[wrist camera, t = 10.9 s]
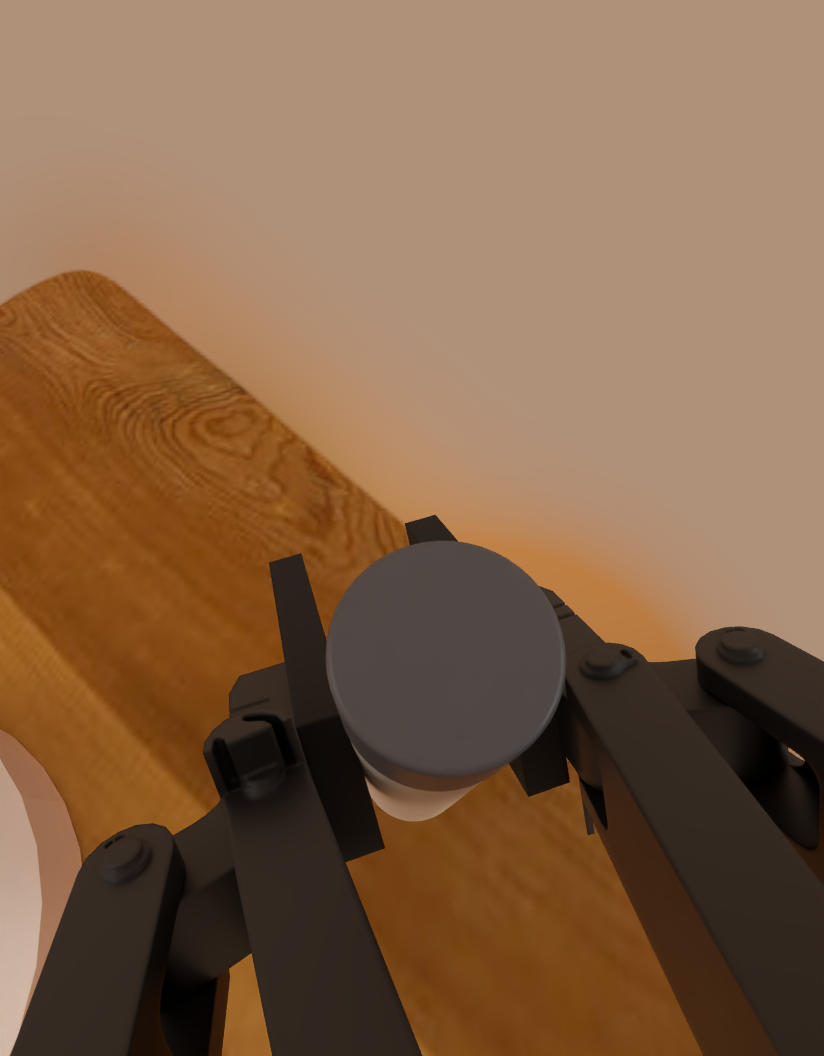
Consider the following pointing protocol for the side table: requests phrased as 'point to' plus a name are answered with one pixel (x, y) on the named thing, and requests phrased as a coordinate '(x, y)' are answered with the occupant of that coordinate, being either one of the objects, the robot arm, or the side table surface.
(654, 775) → the robot arm
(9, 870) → the bowl
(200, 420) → the side table surface
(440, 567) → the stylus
